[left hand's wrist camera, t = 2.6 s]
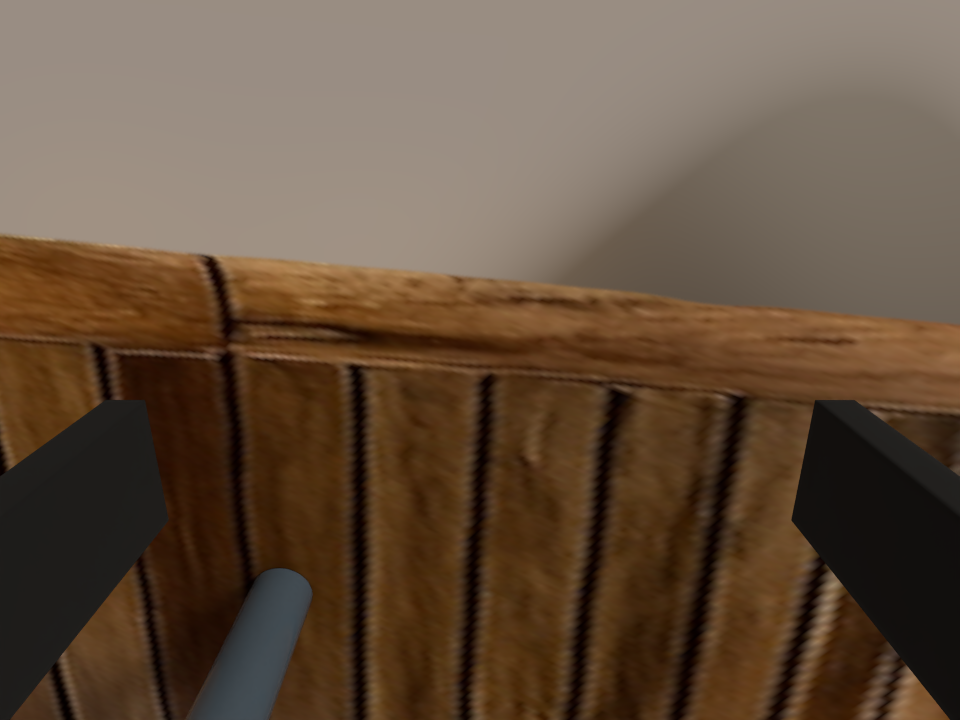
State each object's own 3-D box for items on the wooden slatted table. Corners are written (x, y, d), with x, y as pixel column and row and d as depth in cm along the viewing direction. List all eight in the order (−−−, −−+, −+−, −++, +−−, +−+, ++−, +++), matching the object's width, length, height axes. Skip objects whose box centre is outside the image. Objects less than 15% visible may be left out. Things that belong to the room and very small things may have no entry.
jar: (241, 597, 48) (132, 811, 33) (271, 557, 47) (172, 760, 32) (293, 625, 49) (210, 846, 34) (323, 587, 48) (252, 798, 33)
